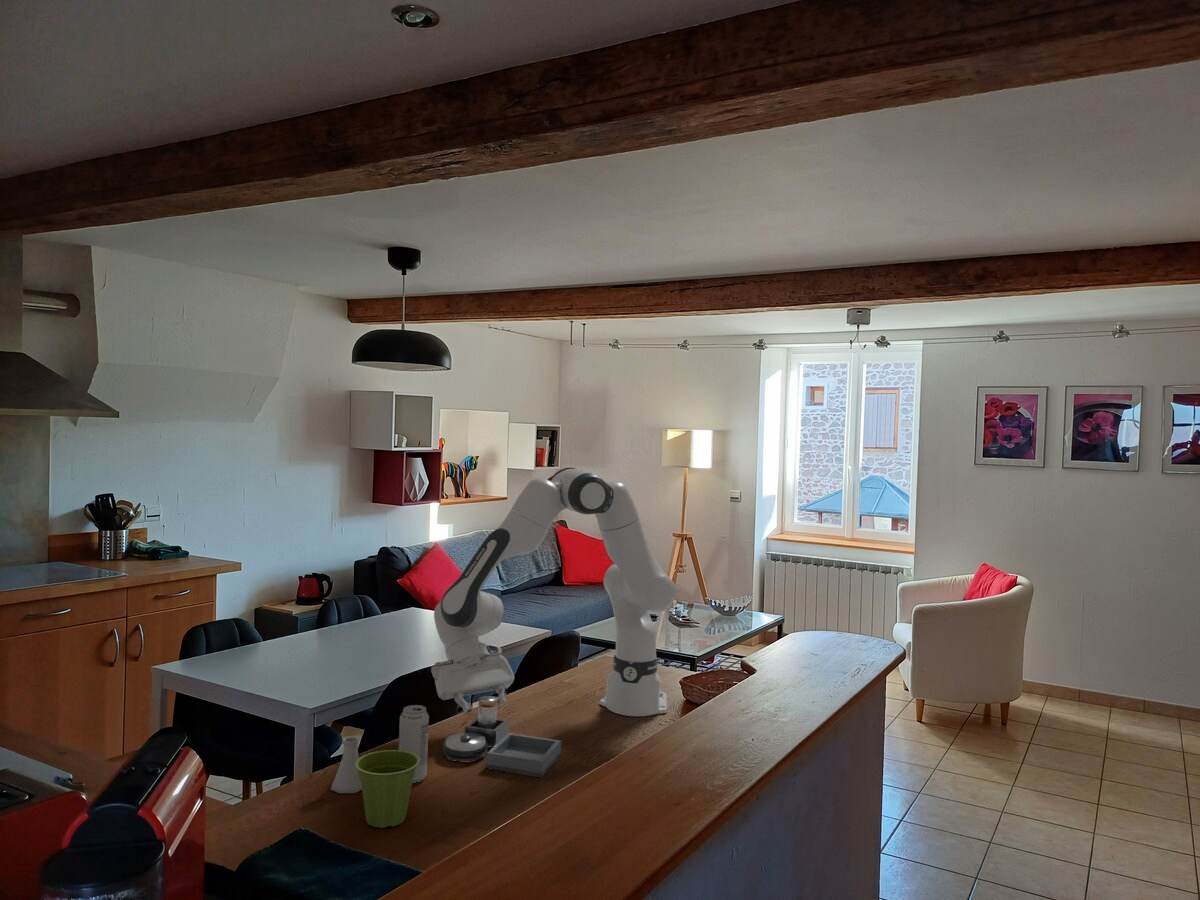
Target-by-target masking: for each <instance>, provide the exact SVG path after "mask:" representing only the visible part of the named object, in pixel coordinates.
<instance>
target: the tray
mask: <svg viewBox="0 0 1200 900" xmlns="http://www.w3.org/2000/svg"><path fill="white" fill-rule="evenodd" d="M561 750H562V740H558V739H552V738H547V737H546V738H545V737H539V736H532V735H525V734H519V733H513V732H512V733H511V732H508V734H507V735H506V736H505V737H504V738H502V739H501V740H500V741H499V742H498V743H497V744H496V745H495V746H494V747H493V748H490V750H488V751H487V753H486V764H485V765H486V766H485V769H486V768H491V769H495V770H494V771H497V770H500V771H499V772H503V771H505V772H504V773H509V772H511V774H514V775H515V774H517V775H524V776H529V777H536V778H543V777H544V776H545V775H546V774H547V772H548V771H549V770H550V769H551V767H552V766H553V765H554V764H555V763H556V762H557V761H558V759H559V758H560V756H561V752H562V751H561ZM491 769H490V770H491Z"/></svg>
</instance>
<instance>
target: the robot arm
mask: <svg viewBox="0 0 1200 900" xmlns="http://www.w3.org/2000/svg"><path fill="white" fill-rule="evenodd" d="M566 509H567V510H569V511H572V512H576V513H579V514H582V515H595V517H596V520H597V523H598V528H599V531H600V533H601V534H600V535H601V537H602V541H603V544H604V547H605V550H606V554H607V555H608V557H609V558H610V559H611V560H612V561H613V562H614V564H612V565H610V566H609V567H608V569H607V570H606V572H605V574H604V576H603V586H604V589H605V591H606V593H607V594H608V596H609V599H610V603H611V606H612V611H613V616H614V622H615V654H614V655H613V660H612V668H613V670H612V672H610V673H609V674H608V675H607V679H606V687H605V688H606V691H605V696H604V697H603V698H601V699H600V700H599V705H601V706H603V707H604V708H605V707H606V709H608V711H611V712H613V713H615V714H618V715H621V716H628V717H649V716H652V715H659V714H667V713H668V697H667V693H666V692H664V691H661V678H660V675H659V673H658V672H657V671H658V665H659V664H658V658H657V637H658V636H657V635H658V632H657V630H658V629H657V627H656V625H655V623H654V622H653V620H652V618H651V614H650V612H653V613H655V612H656V613H657V612H660V613H661V612H665V611H666V610H668V609H669V608H670V607H671V606H672V605H673V603H674V602H675V600H676V596H677V595H676V594H677V588H676V585H675V583H674V581H673V580H672V579H671V578H670V576H669V575H667V573H666V572H665V571H664V570H663V568H662V566H661V564H660V563H659V561H658V559H657V558H656V556H655V555H654V552H653V551H652V549H651V547H650V545H649V543H648V541H647V538H646V535H645V532H644V528H643V525H642V522H641V518H640V516H639V512H638V510H637V506H636V504H635V501H634V499H633V497H632V495H631V492H630V491H629V490H628V488H627V486H626V485H625V484H624V483H623V482H620V481H616V480H615V481H608V482H606V481H605V480H604V479H603V478H602V477H601V476H600V475H597V474H596V473H593V472H590V470H587V469H582V468H576V467H572V466H571V467H565V468H561V469H560V470H558V471H557V472H555V473H554V474H553V475H551V476H550V477H548V478H547V479H546V478H540V477H538V478H533V479H531V481H529V482H528V483H527V484H526V485H525V487H524V489H523V490H522V491H520V494H519V495H518V497H517V498H516V500H515V502H514V503H513V505H512V507H511V509H510V511H509V512H508V513H507V516H506V517H505V519H504V520H503V521H502V523H500V525H499V526H498V527H497V528H496V529H494V530H493V531H492V532H490V534H489V535H487V537H486V538H485V539H484V541H483V542H482V543H481V545H480V546H479V548H478V549H477V551H476V552H475V553H474V555H473V556H472V558H471V560H470V561H469V562H468V563H467V565H466V566H465V568H464V570H463V571H462V573H461V574H460V576H459V577H458V578H457V579H456V580H455V582H453V583H452V584H451V586H449V587H448V588H447V589H446V591H445V592H444V593H443V595H442V598H441V599H440V601H439V602H438V604H437V605H436V607H434V612H433V619H434V624H435V628H436V632H437V633H438V638H439V639H440V641H441V642H442V644H443V645H444V653H445V656H446V658H447V660H445V661H438V662H435V663H434V664H433V665H432V666H431V668H430V669H431V670H430V671H431V674H432V677H433V678H434V684H435V688H436V693H437V695H438V698H439V699H440V700H442V701H446V700H451V699H454V702H456V704H457V705H458V706H460V707H461V709H462V711H463V713H464V714H467V713H468V714H469V713H471V712H472V711H473V706H472V703H471V702H467V701H466V699H464V697H467V696H470V695H476V694H482V693H486V692H487V693H488V692H492V691H495V692H496V694H498V697H497V707H500V706H504V705H505V704H506V703H507V700H506V698H505V693H506V691H505V690H506V689H508V688H509V687H510V686H511V685H512V684H513V683H514V680H515V673H514V672H513V670H512V667H511V666H510V663H509V661H508V660H507V658H506V657H505V656H504V655H501V654H502V653H503V651H502V648H501V647H500V646H498V645H493V644H489V643H484V642H481V641H480V640H479V639H480V638H479V637H481V636H483V635H486V634H488V633H490V632H492V631H494V630H496V629H497V628H498V627H499V626H500V625H501V623H502V621H503V619H504V616H505V606H504V602H503V600H502V599H501V598H500V597H499V596H497V595H495V594H492V593H489V592H486V591H483V590H482V589H483V587H484V586H485V584H486V583H487V581H488V580H489V579H490V577H491V576H492V574H493V572H494V571H495V569H496V567H498V565H499V564H500V563H501V562H502V561H504V560H506V559H509V558H510V557H513V556H519V555H526V554H529V553H531V552H534V551H535V550H537V549H538V548H539V547H540V545H541V544H542V543H543V541H544V540H545V539H546V536H547V534H548V533H549V531H550V528H551V526H552V525H553V523H554V520H555V518H556V517H557V515H559V513H561V512H562V511H563V510H566Z"/></svg>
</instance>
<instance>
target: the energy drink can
mask: <svg viewBox="0 0 1200 900" xmlns="http://www.w3.org/2000/svg"><path fill="white" fill-rule="evenodd" d="M429 719H430V714H428V711H427V707H426V706H424V705H421V704H411V705H407V706H405V707H403V710H402V713H401V714H400V716H399V728H398V729H399V730H398V750H400V751H407V752H411V753H414V754H415V755H417V756H418V757H419V759H420V762H419V764H418V766H417V767H416V770H415V775H414V777H413V781H412V783H416V782H419V783H421V782H422V781H421V780H423V779H424V778H426V776H427V773H428V746H429V725H430V724H429V723H430V722H429V721H430V720H429ZM420 781H421V782H420ZM423 781H424V780H423ZM416 784H417V783H416Z"/></svg>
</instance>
